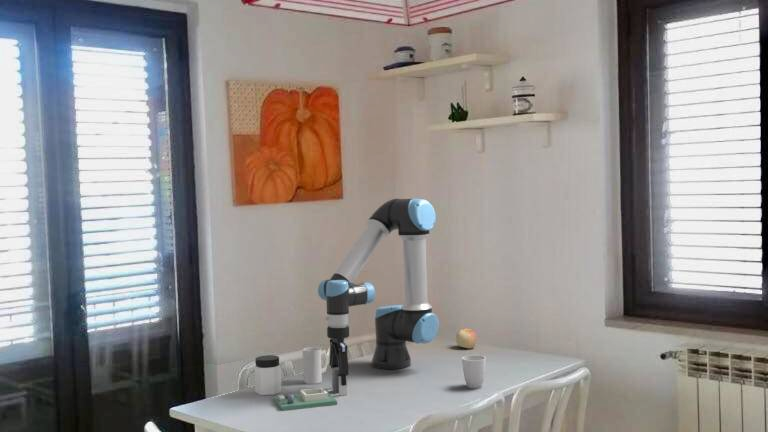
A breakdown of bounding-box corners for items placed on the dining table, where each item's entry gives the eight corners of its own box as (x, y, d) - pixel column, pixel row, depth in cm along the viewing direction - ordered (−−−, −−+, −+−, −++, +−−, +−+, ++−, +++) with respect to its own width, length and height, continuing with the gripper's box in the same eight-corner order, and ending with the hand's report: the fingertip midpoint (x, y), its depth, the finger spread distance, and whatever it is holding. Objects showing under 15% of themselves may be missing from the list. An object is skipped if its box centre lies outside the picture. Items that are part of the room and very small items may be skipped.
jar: (265, 388, 286) (264, 354, 286) (285, 390, 283) (284, 355, 282) (251, 394, 278) (249, 359, 278) (271, 396, 275) (270, 361, 274)
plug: (345, 389, 282) (344, 366, 282) (348, 392, 278) (348, 369, 278) (332, 390, 281) (332, 367, 280) (335, 393, 277) (335, 370, 276)
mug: (309, 385, 288) (308, 351, 288) (299, 381, 294) (298, 348, 293) (333, 380, 294) (332, 347, 294) (323, 377, 300) (322, 344, 299)
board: (326, 393, 277) (326, 383, 277) (337, 404, 263) (336, 393, 263) (273, 399, 271) (273, 388, 271) (282, 410, 258) (281, 399, 258)
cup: (487, 384, 285) (487, 355, 284) (484, 390, 277) (483, 360, 276) (464, 382, 287) (464, 354, 286) (460, 388, 279) (460, 360, 279)
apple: (466, 345, 350) (465, 326, 350) (481, 348, 344) (481, 329, 343) (451, 348, 345) (451, 329, 344) (466, 351, 338) (466, 332, 338)
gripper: (319, 321, 287) (321, 384, 288) (335, 332, 267) (337, 400, 268) (340, 319, 290) (341, 382, 291) (357, 330, 269) (358, 397, 270)
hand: (339, 391), depth 279 cm, fingers open, 9 cm apart
